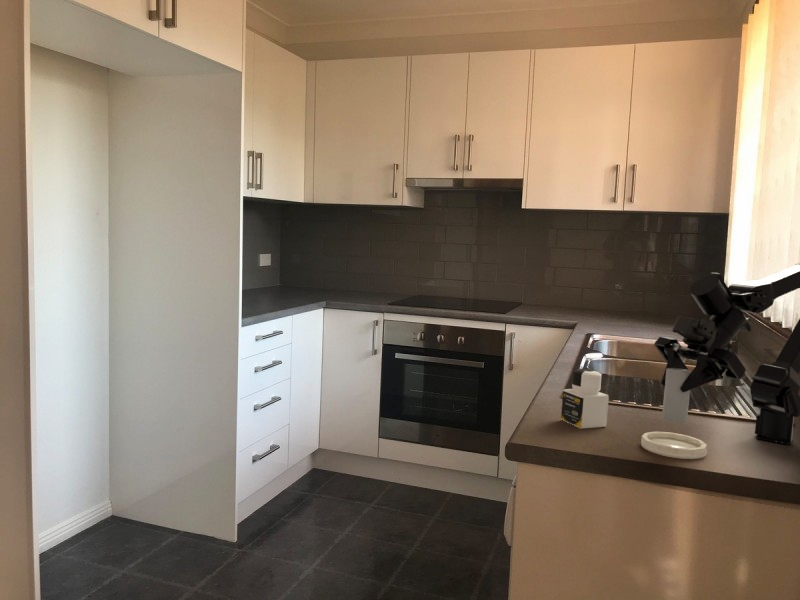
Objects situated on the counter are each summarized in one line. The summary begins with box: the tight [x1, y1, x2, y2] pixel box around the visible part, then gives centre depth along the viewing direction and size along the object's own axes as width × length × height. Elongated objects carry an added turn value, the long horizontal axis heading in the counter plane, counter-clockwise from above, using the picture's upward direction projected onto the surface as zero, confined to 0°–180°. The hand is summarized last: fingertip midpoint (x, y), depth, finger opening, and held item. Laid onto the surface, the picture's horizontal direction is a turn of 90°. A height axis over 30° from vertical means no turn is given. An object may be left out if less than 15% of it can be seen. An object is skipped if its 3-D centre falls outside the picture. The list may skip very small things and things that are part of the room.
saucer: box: [640, 431, 708, 460], centre depth 133 cm, size 12×12×2 cm
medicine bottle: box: [560, 368, 609, 429], centre depth 148 cm, size 7×7×12 cm
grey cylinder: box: [661, 368, 693, 424], centre depth 132 cm, size 5×5×10 cm
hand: (672, 387), depth 132 cm, fingers closed on grey cylinder, 5 cm apart
